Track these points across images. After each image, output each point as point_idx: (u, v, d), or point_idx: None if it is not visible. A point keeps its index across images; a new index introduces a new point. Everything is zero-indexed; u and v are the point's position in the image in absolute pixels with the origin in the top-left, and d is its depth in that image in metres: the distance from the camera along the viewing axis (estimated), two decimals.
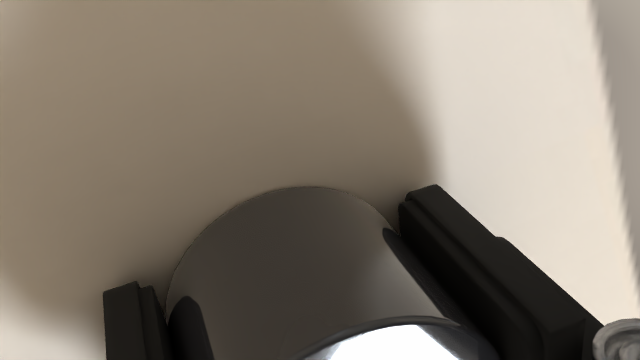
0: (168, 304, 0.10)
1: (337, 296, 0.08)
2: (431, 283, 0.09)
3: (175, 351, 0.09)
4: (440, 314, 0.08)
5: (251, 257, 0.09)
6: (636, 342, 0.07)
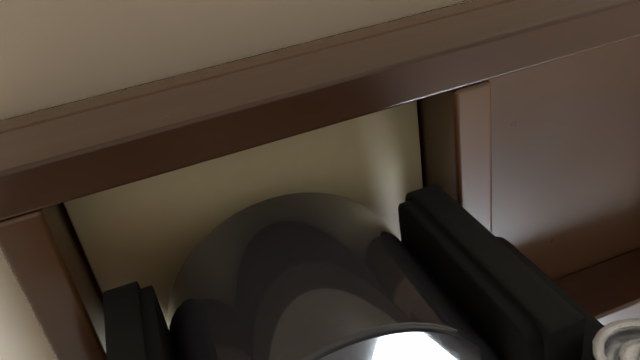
0: (170, 309, 0.10)
1: (339, 303, 0.08)
2: (432, 289, 0.09)
3: (177, 356, 0.09)
4: (441, 321, 0.08)
5: (252, 263, 0.09)
6: (636, 342, 0.07)
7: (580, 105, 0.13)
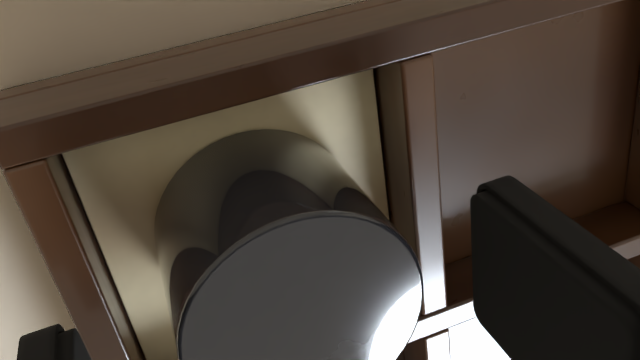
0: (155, 224, 0.12)
1: (282, 198, 0.10)
2: (361, 196, 0.11)
3: (160, 257, 0.12)
4: (362, 212, 0.10)
5: (219, 177, 0.11)
6: None
7: (523, 81, 0.14)
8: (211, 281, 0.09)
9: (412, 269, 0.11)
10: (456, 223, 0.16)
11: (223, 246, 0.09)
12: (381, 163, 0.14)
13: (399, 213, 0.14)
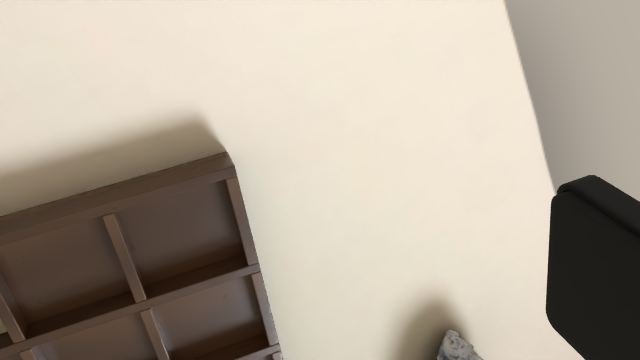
0: None
1: None
2: None
3: None
4: None
5: None
6: None
7: (52, 248, 0.35)
8: None
9: None
10: (39, 303, 0.37)
11: None
12: None
13: None
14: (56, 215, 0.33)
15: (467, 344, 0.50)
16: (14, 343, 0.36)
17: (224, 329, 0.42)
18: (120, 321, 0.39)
